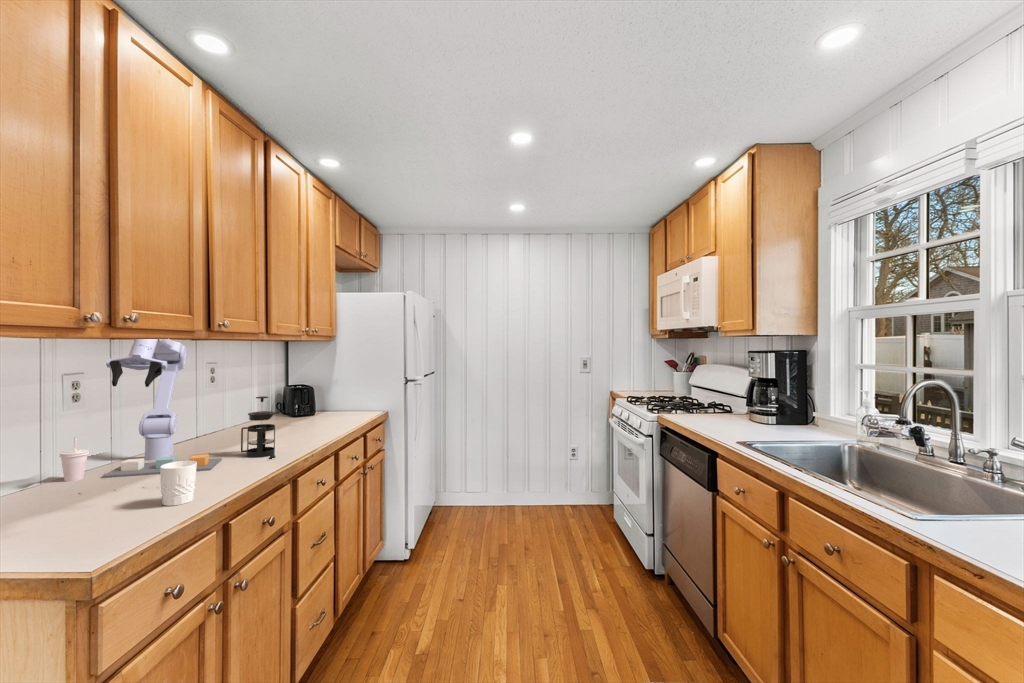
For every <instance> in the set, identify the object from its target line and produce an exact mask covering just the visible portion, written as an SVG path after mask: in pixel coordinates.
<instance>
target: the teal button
mask: <svg viewBox="0 0 1024 683" xmlns="http://www.w3.org/2000/svg"><path fill="white" fill-rule="evenodd" d="M177 461H178V456H174V455H173V456H170V457H161V458H159V459H158V460H155V462H156V469H160V466H162V465H164V464H167V463H171V462H177Z"/></svg>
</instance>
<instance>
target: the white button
mask: <svg viewBox="0 0 1024 683" xmlns="http://www.w3.org/2000/svg"><path fill="white" fill-rule="evenodd" d="M144 463H145V457H144V458H129V459H125V460H124V461H122V462H120V466H121V471H132V470H140V469H141V468H143V467H144Z"/></svg>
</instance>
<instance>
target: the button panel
mask: <svg viewBox="0 0 1024 683" xmlns="http://www.w3.org/2000/svg"><path fill="white" fill-rule="evenodd" d="M182 461H189V459H185V460H183V459H182ZM222 461H223V457H217V458H214V457H213V458H209V463H208V464H207V465H205V466H197V468H196V472H204V471H205V472H206V471H209V472H210V471H212V470H213V469H214V468H215V467H216V466H217V465H218V464H220V462H222ZM151 475H153V476H154V475H160V469H156V461H155V462H154V461H153V462H144V467H143V468H141V469H140V470H132V471H121V465H120V466H118V467H116V468H114V469H113V470H110V471H109V472H107V473H105V474H103V475H101V479H110V478H122V477H123V478H125V477H138V476H151Z"/></svg>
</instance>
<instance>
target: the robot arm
mask: <svg viewBox="0 0 1024 683" xmlns="http://www.w3.org/2000/svg"><path fill="white" fill-rule="evenodd" d="M187 353H188V352H187V347H186V345H184V344H182V342H178V341H175V340H173V339H170V338H168V339H134V338H133V343H132V345H131V348H130V351H129V354H128V356H122V357H117V358H107V360H106V363H105V366H106V368H110V370H111V374H112V375H111V376H112V377H111V378H112V379H111V384H112V387H117V385H118V382H119V379H120V377H121V376H122V375H123V373H124V372H123V368H126V369H131V370H136V371H144V370H148V372H147V375H146V377H145V380H144V385H145V388H149V387H150V385H151V384H152V382H154V380H156V379H157V378H158V377H160V379H159V381H158V382H159V383H158V387H157V392H156V395H155V400H154V405H153V408H152V409H150V410H148V411H146V412H144V413H143V415H142V418H141V420H140V421H139V424H138V433H139V434H140V436H141V437H143V439H144V461H156V460H158V459H159V458H161V457H172V456H174V438H173V437H172V435H174V434H175V433H176V432H177V427H178V416H177V414H176V412H174V411H173V410H171V405H172V400H173V395H174V390H175V385H176V380H177V376H178V373H179V371H181V370H183V369H184V368H185V365H186V361H187V357H188V356H187Z"/></svg>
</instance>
